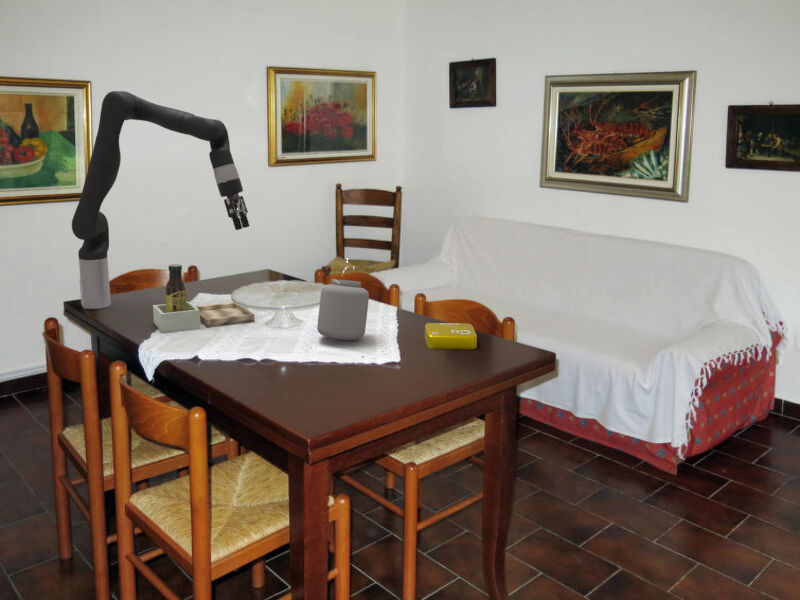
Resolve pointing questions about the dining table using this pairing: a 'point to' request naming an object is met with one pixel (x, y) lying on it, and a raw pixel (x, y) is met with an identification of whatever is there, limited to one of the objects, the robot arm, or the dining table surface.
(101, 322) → the dining table surface
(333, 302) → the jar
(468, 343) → the element tile
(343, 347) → the dining table surface
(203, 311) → the tray
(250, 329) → the dining table surface
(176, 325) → the box
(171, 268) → the sauce bottle
